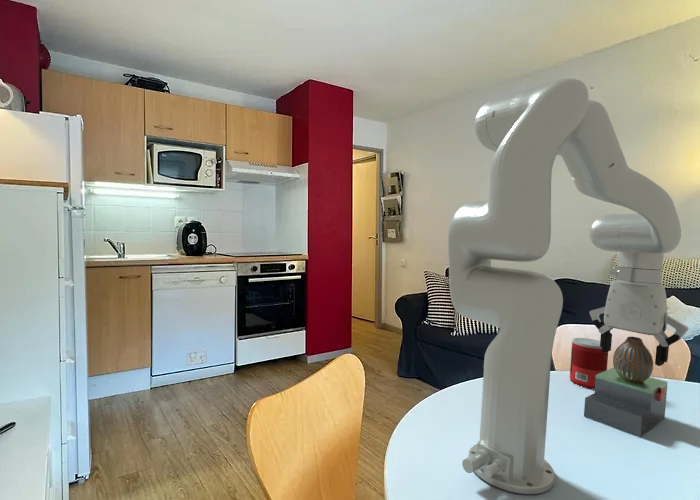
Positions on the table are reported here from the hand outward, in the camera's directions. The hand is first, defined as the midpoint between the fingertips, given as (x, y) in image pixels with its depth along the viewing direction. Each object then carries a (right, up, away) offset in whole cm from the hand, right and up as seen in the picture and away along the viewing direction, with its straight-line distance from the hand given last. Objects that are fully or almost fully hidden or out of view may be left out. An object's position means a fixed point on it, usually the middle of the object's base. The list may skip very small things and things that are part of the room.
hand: (631, 357), depth 83 cm
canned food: (+2, -12, +18) cm, 22 cm away
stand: (-2, -13, -1) cm, 13 cm away
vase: (0, -5, 0) cm, 5 cm away
